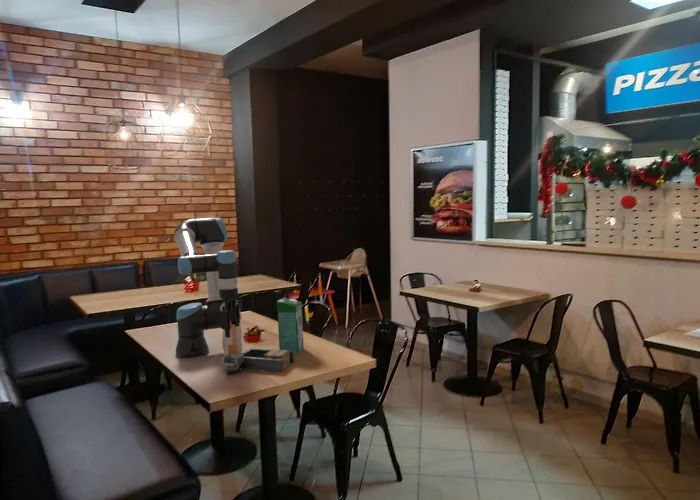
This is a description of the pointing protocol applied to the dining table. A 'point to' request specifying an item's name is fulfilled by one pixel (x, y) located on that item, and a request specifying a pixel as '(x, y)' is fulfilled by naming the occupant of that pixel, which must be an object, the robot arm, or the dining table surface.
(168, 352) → the dining table surface
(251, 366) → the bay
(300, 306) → the milk carton
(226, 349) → the water bottle
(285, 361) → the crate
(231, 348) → the handle peg
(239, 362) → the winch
